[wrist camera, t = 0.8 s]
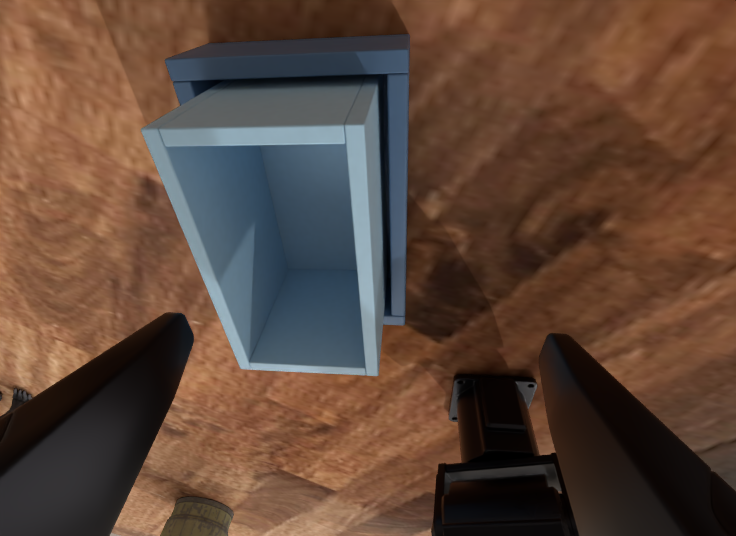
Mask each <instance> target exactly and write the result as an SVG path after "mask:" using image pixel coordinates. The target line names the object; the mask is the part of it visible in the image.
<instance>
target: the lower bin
mask: <svg viewBox="0 0 736 536" xmlns="http://www.w3.org/2000/svg"><path fill="white" fill-rule="evenodd" d="M409 53H410V35H409V34H399V35H378V36H356V37H335V38H313V39H292V40H270V41H249V42H227V43H208V44H205V45H203V46H200V47H197V48H194V49H192V50H189V51H186V52H183V53H181V54H178V55H175V56H172V57H169V58H167V59H165V63H166V66H167V69H168V72H169V75H170V78H171V80H172V81H174V82H173V85H174V88H175V91H176V94H177V97H178V100H179V103H180V106H181V105H183V104H184V103H186V102H188V101H189V100H191V99H193V98H195V97H196V96H198V95H200V94H201V93H203V92H205V91H207V90H208V89H210V88H212V87H213V86H215V85H217V84H219V83H220V82H222V81H224V80H226V79H254V78H282V77H310V76H338V75H366V74H383V106H384V148H385V189H386V230H387V271H388V273H387V285H386V296H385V307H384V318H383V325H405V304H406V254H407V187H408V120H409Z"/></svg>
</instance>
